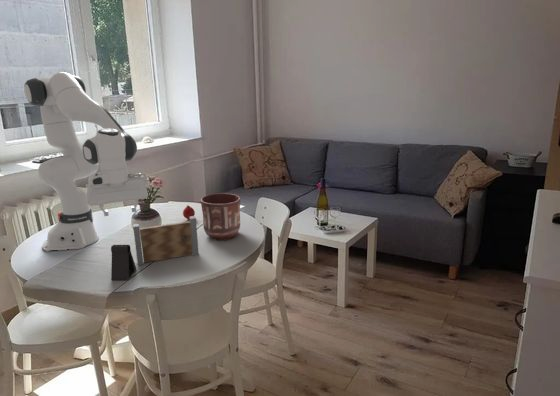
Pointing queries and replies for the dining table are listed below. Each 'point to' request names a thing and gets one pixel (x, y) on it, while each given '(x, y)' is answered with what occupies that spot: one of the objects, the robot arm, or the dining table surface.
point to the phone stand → (122, 262)
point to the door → (166, 241)
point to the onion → (188, 212)
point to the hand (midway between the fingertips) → (120, 213)
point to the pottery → (221, 215)
